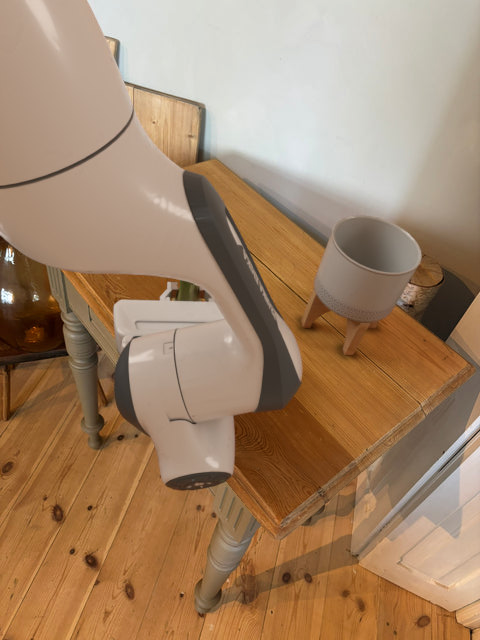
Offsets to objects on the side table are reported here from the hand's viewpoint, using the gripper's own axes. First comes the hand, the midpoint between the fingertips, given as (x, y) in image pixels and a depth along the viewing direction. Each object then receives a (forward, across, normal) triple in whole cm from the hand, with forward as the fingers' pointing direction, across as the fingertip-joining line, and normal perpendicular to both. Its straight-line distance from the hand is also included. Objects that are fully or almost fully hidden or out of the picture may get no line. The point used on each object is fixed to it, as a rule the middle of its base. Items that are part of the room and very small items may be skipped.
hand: (187, 285), depth 67 cm
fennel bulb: (-1, 0, +7) cm, 7 cm away
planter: (0, -26, +8) cm, 27 cm away
